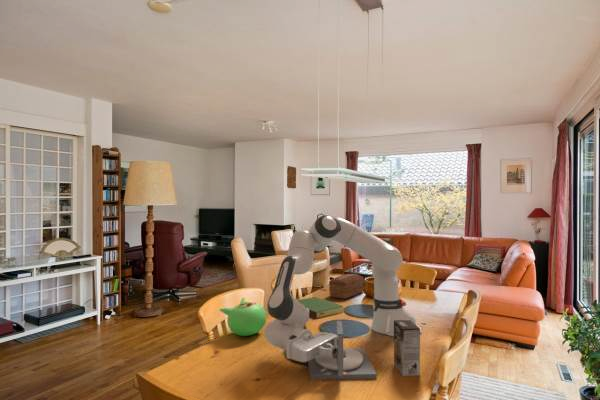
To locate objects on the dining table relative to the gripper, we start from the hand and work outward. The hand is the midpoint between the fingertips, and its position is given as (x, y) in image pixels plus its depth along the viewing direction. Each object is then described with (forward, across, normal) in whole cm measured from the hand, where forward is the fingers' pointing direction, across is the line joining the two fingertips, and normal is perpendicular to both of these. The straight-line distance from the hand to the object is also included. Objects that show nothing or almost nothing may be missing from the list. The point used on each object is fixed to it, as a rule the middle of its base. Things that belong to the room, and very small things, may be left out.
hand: (334, 351), depth 125 cm
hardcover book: (-52, -60, -10) cm, 80 cm away
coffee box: (+16, -21, -9) cm, 28 cm away
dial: (-2, -7, -7) cm, 10 cm away
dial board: (-5, -10, -9) cm, 14 cm away
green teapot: (-54, -11, -9) cm, 56 cm away
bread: (-57, -100, -9) cm, 116 cm away
